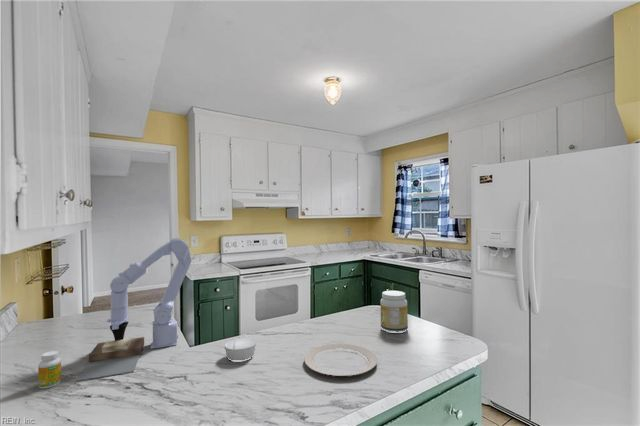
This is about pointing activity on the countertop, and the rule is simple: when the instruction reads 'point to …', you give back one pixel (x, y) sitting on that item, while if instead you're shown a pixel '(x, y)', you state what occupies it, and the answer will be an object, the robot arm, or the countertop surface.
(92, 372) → the grey flat slab
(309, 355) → the plate
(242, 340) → the ramekin
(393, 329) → the supplement tub
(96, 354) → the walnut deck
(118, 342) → the birch tile
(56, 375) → the supplement bottle
